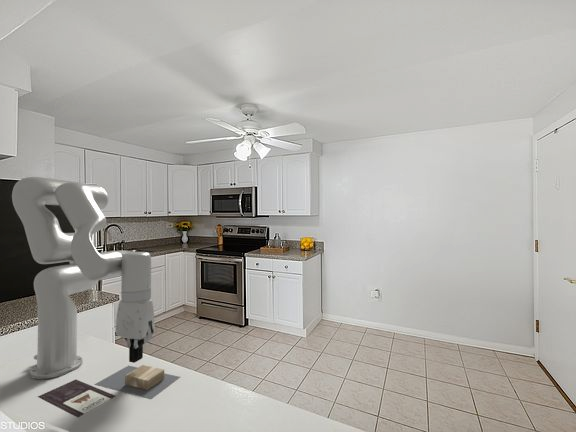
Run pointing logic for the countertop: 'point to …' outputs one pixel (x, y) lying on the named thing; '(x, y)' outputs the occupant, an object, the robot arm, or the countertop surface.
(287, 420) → the countertop surface
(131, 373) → the wooden block
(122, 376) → the mat
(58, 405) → the chocolate bar
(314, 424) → the countertop surface
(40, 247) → the robot arm
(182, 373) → the countertop surface
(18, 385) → the countertop surface
